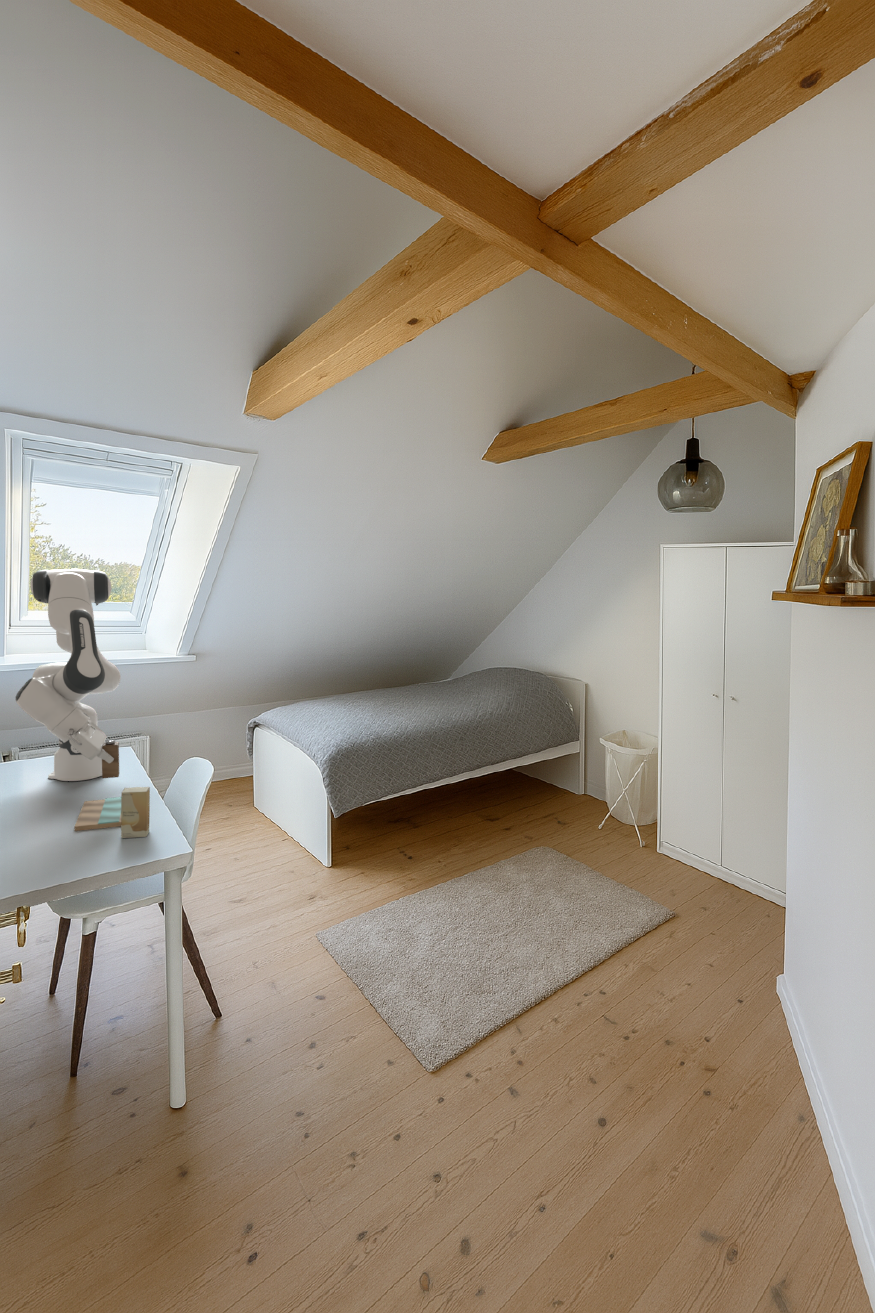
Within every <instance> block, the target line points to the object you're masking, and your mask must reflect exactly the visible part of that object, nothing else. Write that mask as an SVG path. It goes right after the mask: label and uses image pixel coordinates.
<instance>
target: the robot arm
mask: <svg viewBox="0 0 875 1313" xmlns="http://www.w3.org/2000/svg"><path fill="white" fill-rule="evenodd" d="M29 588H30V591H31V594H32V595H33V598H34V599H35V600H37V602H38V603H43V604H47V616H48V617H47V618H48V621H49V625H50V626H51V628H52V629H53V630H55V633H56V636H55V637H56V643H57V646H58V647H59V648H60V649H61V650H63V651H64V652H67V653H70V657H69V659H68V660H67V662H64V661H61V662H50V663H44V664H40V665H39V666H37V667H36V668H35V670H34V672H33V673H32V677H31V678H29V679H28V680H27V681H26V682H25V683H24V684H23V686H21V688H20V689H19V691H17V693H16V696H15V702H16V703H17V705H18V706H19V708H21V710H23V711H24V712H25V713H26V714H27V715H28V716H29V717H31V718H32V719H33V720H34V721H36V722H38V723H40V724H42V725H44V726H45V728H46V729H47V730H48V731H49V732H50V733H51V734H52V735H53V736H55V737H56V738H58V747H59V748H58V750H56V752H55V753H54V754H53V755H54V756H53V761H54V762H53V771H52V772H51V773H49V774H48V779H50V780H51V779H52V780H54V779H55V780H58V781H63V782H68V781H69V782H77V781H78V782H79V781H85V780H91V779H96V778H98V777H99V778H100V777H102V759H103V760H105V761H106V762H108V763H111V762H112V761H113V760H114V757H113V756H112V755H110V754H108V753H107V752H105V750H104V749H102V747H103V745H104V743H105V741H107V737H108V736H107V735H106V733H105V732H104V731H103V730H102V729H101V728H100V727H99V726H98V713H97V711H96V709H95V708H93V707H92V706H90V705H88V704H85V703H82V702H81V701H82V700H83V699H84V698H86V697H87V696H88V695H99V694H100V695H101V694H106V693H111V692H114V691H115V690H116V689H117V688H118V687H119V685H120V683H121V680H122V678H121V672H120V670H119V668H118V667H117V666H116V664H114V663H112V662H111V661H109V659H107V658H106V657H105V656H104V654H102V653H101V651H100V650H99V647H98V644H97V638H96V629H95V617H94V608H93V604H95V606H98V605H100V604H103V603H105V602H106V601H108V600H109V597H110V596H111V593H112V588H113V587H112V581H111V580H110V578H109V575H108V574H107V573H106V572H104V571H101V570H96V569H94V570H89V569H80V568H71V569H68V568H65V569H64V568H63V569H60V568H59V569H40V570H36V571H35V572H34V573H33V575H32V577H31V580H30V583H29Z"/></svg>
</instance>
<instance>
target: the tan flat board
mask: <svg viewBox="0 0 875 1313" xmlns="http://www.w3.org/2000/svg"><path fill="white" fill-rule="evenodd" d="M116 827H117V828H118V827H121V796H116V797H107V798H105V799H93V800H84V802H83V804H82V807H81V809H80V812H79V814H78V816H77V818H76V822H75V824H74V830H73V831H74V832H77V831H78V832H80V831H89V830H97V829H98V830H99V829H105V828H106V829H107V828H116Z"/></svg>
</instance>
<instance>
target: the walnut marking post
mask: <svg viewBox="0 0 875 1313" xmlns="http://www.w3.org/2000/svg"><path fill="white" fill-rule="evenodd" d="M102 749H104V750H105V752H107V753H108V754H110V755H112V756H113V757H114V760H113V761H112V762H111V763H108V762H106V761H105V760H103V759H102V776H101V778H102V779H113V778H119V777H120V743H119V741H116V740H114V739H109V740H105V743H104V745H103V747H102Z"/></svg>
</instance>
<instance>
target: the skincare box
mask: <svg viewBox="0 0 875 1313" xmlns="http://www.w3.org/2000/svg"><path fill="white" fill-rule="evenodd" d="M150 791H151V787H150V786H141V787H140V786H136V787H124V788H123V789H122V791H121V796H120V797H121V826H120V838H121V839H126V838H129V839H130V838H147V837H148V834H149V833H150V807H151V806H150V805H151V802H150V801H151V800H150V798H151V797H150V796H151V794H150Z"/></svg>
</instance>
